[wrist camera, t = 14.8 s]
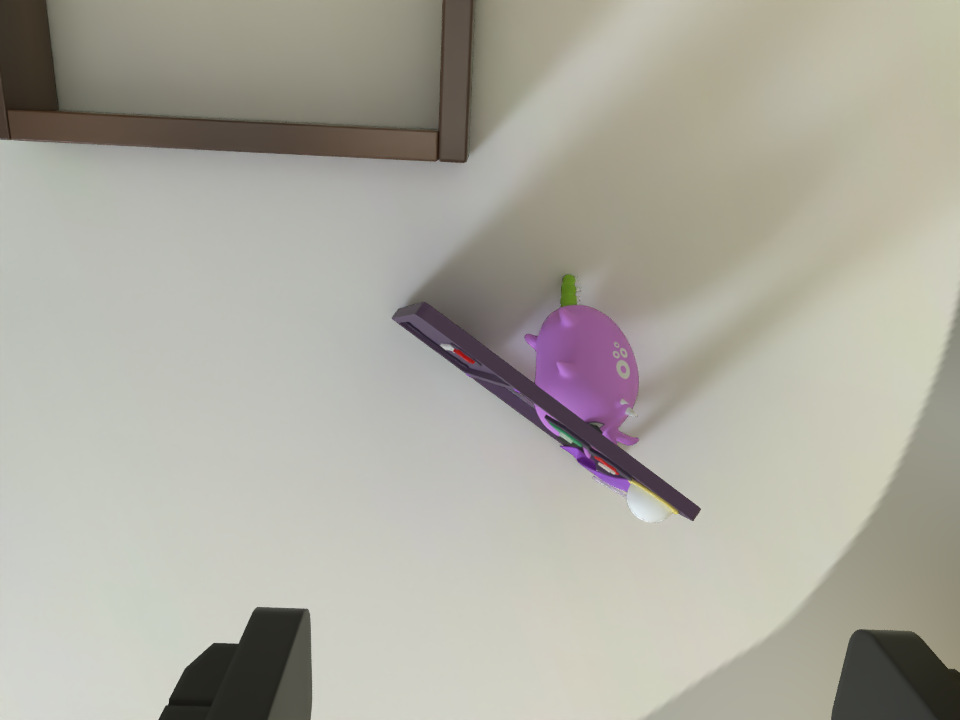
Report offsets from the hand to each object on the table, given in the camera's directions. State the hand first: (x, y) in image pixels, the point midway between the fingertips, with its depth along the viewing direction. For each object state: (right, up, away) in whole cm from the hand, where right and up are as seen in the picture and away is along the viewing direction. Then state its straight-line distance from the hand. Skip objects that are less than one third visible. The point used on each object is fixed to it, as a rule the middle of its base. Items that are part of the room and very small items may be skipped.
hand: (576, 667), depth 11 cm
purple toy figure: (+1, +5, +14) cm, 15 cm away
